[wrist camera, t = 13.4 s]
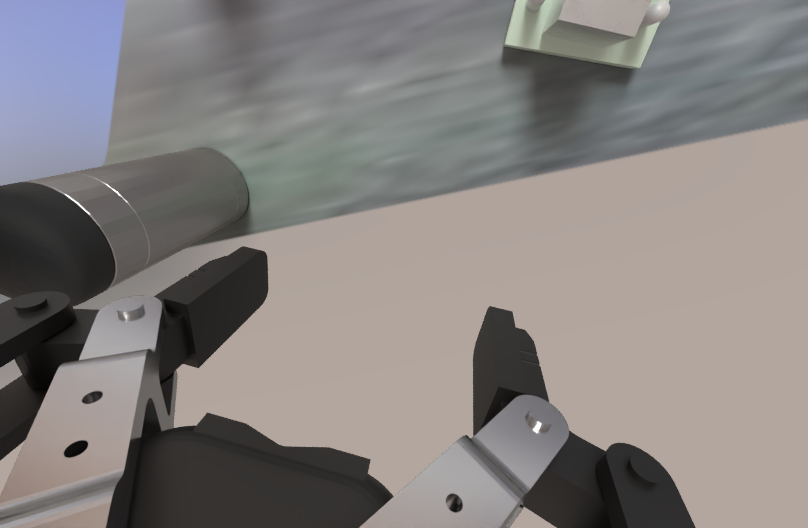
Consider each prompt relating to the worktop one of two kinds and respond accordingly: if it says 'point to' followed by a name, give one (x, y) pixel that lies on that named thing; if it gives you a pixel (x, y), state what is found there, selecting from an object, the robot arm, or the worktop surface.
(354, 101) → the worktop surface
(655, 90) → the worktop surface
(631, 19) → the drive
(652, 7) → the pale green pegged board
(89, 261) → the robot arm
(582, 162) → the worktop surface
